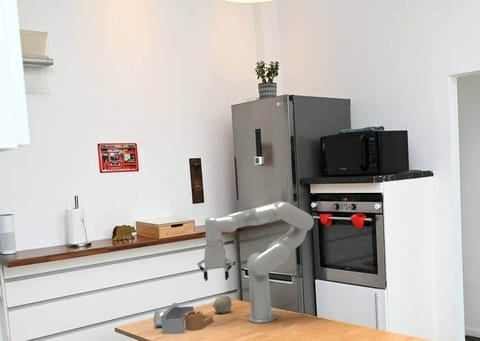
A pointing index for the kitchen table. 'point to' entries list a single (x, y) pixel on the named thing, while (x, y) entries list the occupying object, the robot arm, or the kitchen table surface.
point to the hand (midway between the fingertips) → (216, 280)
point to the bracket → (197, 320)
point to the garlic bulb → (222, 304)
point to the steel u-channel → (172, 318)
